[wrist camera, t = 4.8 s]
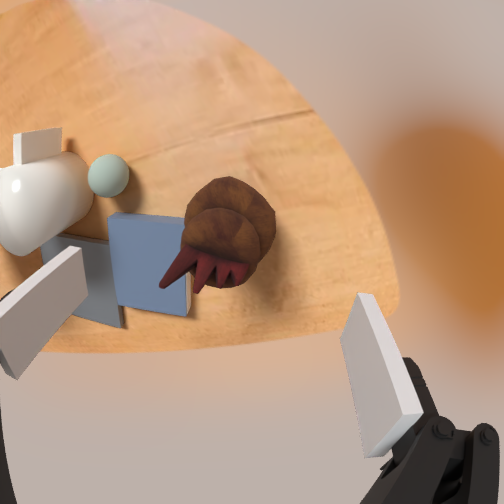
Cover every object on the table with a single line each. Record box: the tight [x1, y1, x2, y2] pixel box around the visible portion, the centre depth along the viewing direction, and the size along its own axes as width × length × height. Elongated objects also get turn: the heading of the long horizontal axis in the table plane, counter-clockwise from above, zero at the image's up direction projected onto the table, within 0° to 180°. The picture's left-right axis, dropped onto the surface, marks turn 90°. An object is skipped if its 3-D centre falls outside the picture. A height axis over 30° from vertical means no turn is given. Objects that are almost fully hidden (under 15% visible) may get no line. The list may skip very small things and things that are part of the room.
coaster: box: [40, 233, 124, 328], centre depth 31 cm, size 11×11×1 cm
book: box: [107, 212, 191, 316], centre depth 29 cm, size 8×10×2 cm
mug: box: [0, 127, 94, 256], centre depth 22 cm, size 8×11×9 cm
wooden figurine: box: [159, 176, 276, 294], centre depth 20 cm, size 7×6×15 cm
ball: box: [88, 154, 129, 198], centre depth 24 cm, size 4×4×4 cm
